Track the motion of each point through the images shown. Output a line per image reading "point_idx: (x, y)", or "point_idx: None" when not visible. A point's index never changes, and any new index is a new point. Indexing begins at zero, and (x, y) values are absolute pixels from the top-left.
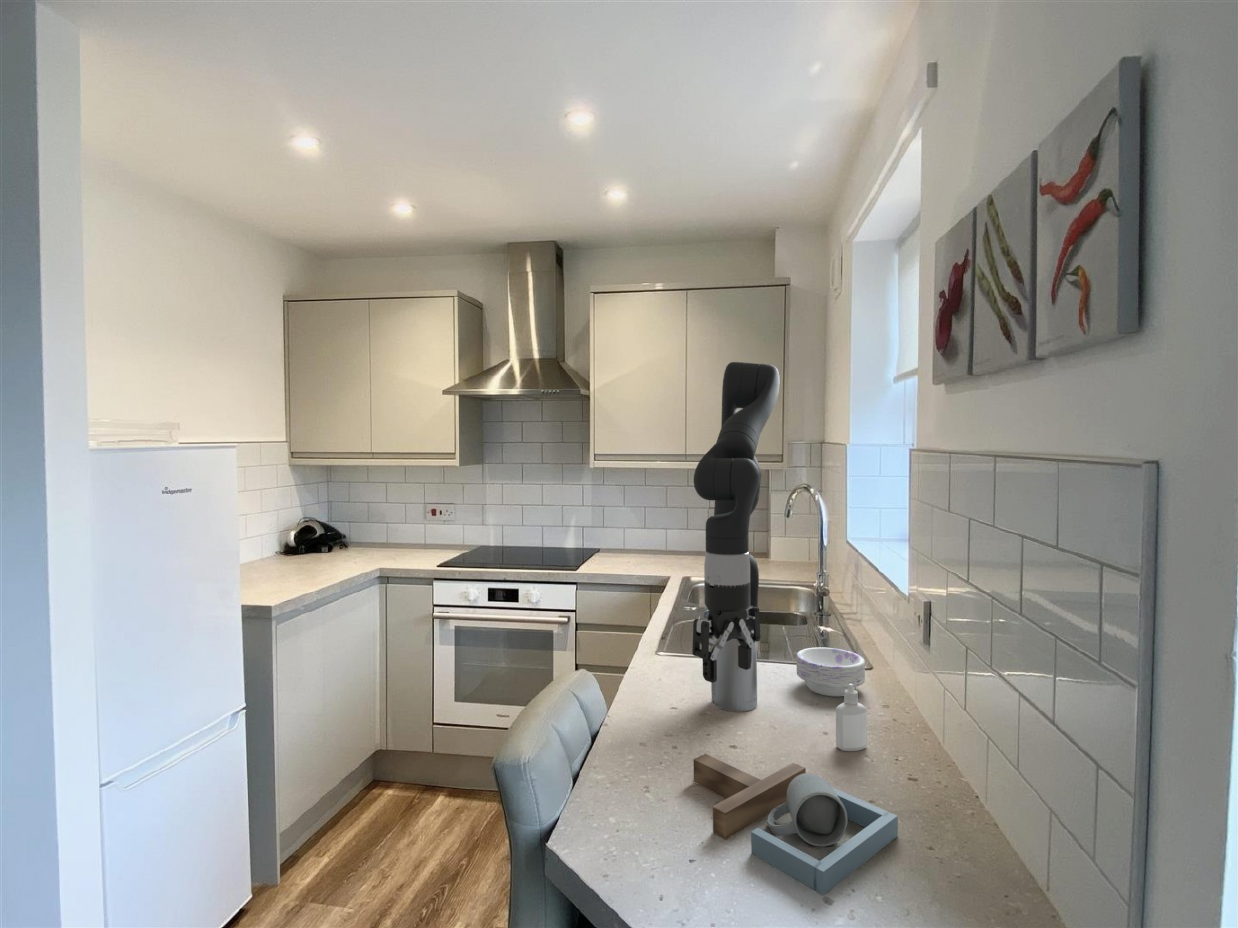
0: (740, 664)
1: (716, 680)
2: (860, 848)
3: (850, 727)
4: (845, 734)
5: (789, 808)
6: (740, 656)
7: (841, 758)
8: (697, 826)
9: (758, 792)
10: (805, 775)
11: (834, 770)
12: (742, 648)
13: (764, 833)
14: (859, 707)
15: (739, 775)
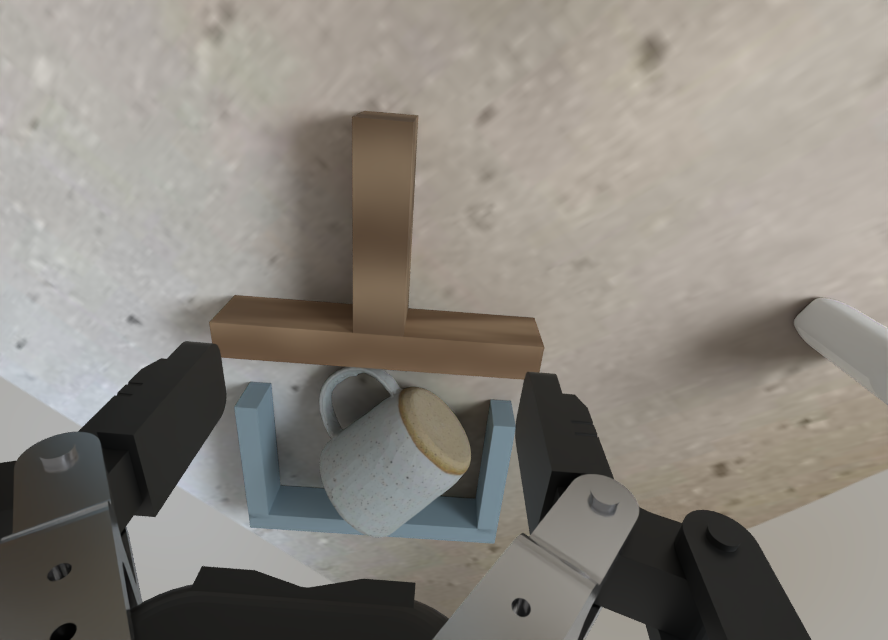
0: (526, 394)
1: (220, 413)
2: None
3: (846, 372)
4: (825, 350)
5: (362, 420)
6: (533, 432)
7: (745, 335)
8: (221, 257)
9: (347, 361)
10: (412, 468)
11: (669, 349)
12: (540, 499)
13: (252, 425)
14: None
15: (378, 285)
